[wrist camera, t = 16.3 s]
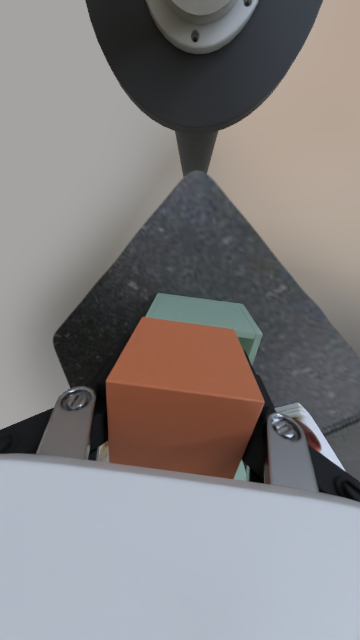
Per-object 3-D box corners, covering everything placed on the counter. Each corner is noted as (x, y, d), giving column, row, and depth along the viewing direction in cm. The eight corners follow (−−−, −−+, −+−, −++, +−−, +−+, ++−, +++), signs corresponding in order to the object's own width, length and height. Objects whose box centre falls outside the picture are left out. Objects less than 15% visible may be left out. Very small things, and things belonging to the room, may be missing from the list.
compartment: (157, 292, 31) (143, 318, 23) (243, 304, 31) (263, 334, 23) (152, 370, 38) (139, 414, 29) (222, 380, 38) (231, 426, 29)
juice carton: (308, 423, 42) (390, 561, 24) (266, 432, 43) (315, 566, 26) (302, 397, 39) (389, 533, 22) (258, 408, 41) (306, 541, 23)
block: (142, 316, 11) (104, 380, 6) (234, 328, 11) (266, 402, 6) (138, 387, 13) (109, 474, 8) (216, 397, 13) (229, 491, 8)
